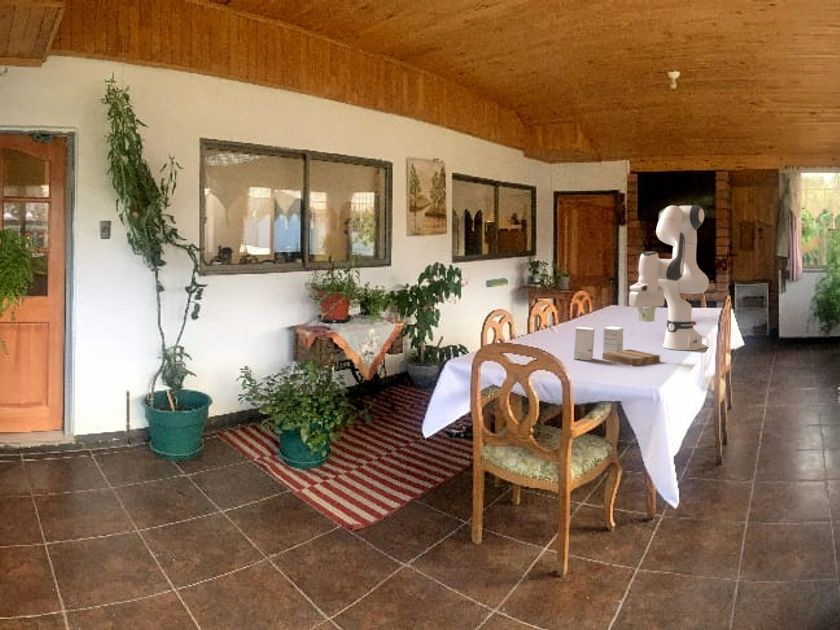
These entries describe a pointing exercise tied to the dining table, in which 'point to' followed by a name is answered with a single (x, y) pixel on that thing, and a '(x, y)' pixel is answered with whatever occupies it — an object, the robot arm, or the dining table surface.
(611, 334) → the supplement box
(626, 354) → the walnut stand
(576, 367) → the dining table surface
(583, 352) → the skincare box
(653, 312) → the sage block
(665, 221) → the robot arm
